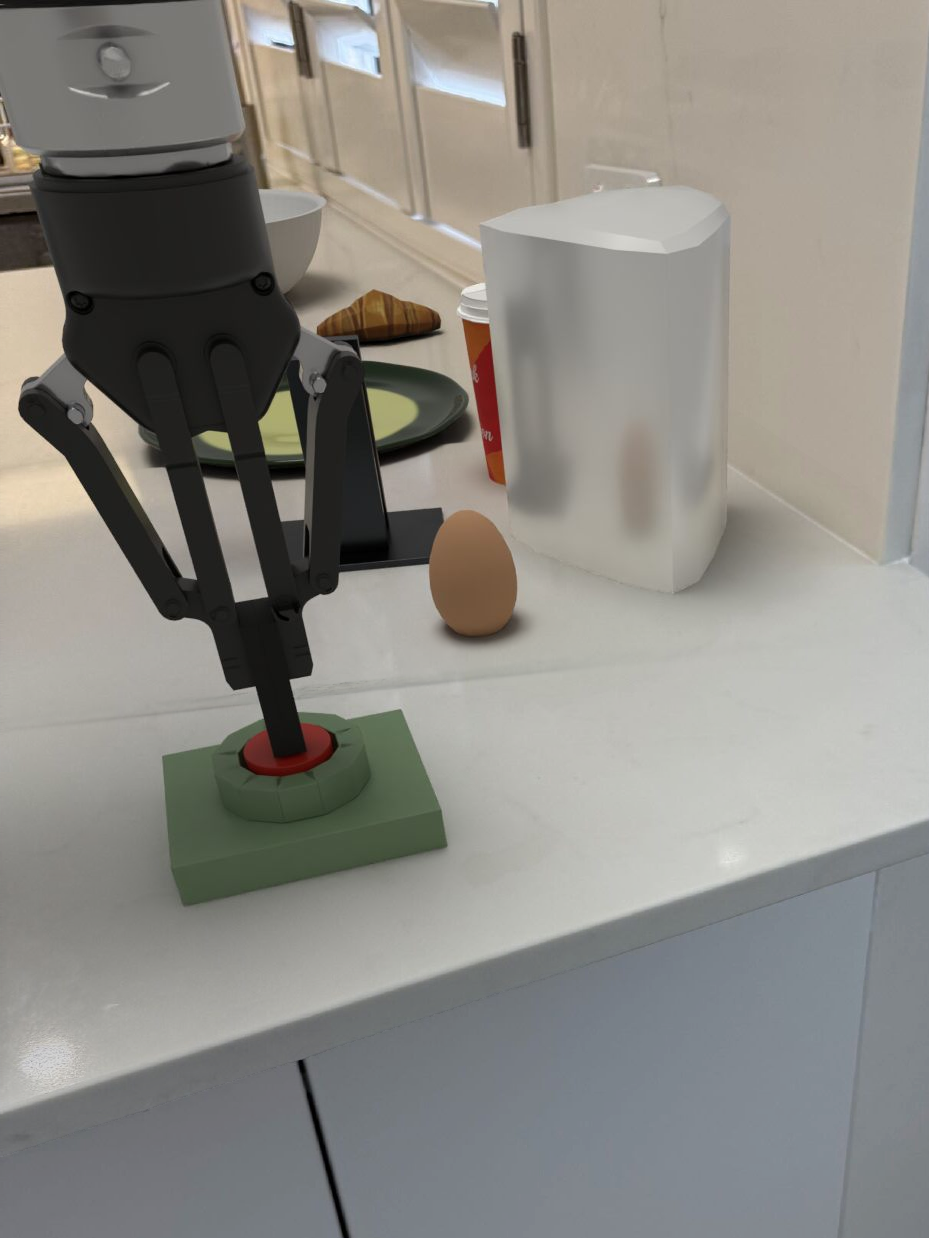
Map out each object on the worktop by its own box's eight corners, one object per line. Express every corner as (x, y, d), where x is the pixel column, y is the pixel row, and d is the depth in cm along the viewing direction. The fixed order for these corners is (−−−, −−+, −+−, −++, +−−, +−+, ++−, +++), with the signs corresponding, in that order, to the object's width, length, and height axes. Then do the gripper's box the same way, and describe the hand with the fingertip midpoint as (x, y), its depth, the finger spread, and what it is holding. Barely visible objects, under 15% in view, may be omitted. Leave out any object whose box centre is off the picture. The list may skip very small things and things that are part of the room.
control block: (183, 907, 54) (158, 835, 51) (173, 791, 61) (151, 723, 59) (447, 847, 57) (435, 776, 54) (407, 744, 64) (395, 677, 62)
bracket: (268, 591, 80) (215, 373, 72) (277, 539, 87) (230, 335, 79) (449, 573, 82) (419, 359, 73) (444, 523, 89) (416, 322, 80)
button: (256, 806, 56) (247, 774, 54) (248, 763, 59) (239, 732, 57) (343, 788, 57) (336, 756, 56) (331, 746, 60) (324, 715, 58)
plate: (213, 387, 117) (206, 360, 116) (496, 385, 116) (493, 358, 114) (89, 491, 96) (79, 460, 94) (436, 491, 94) (432, 459, 92)
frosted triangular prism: (503, 550, 84) (464, 192, 71) (640, 492, 93) (629, 162, 79) (664, 610, 76) (655, 220, 63) (798, 541, 85) (817, 182, 71)
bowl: (95, 340, 133) (65, 239, 127) (122, 286, 154) (97, 197, 148) (346, 320, 137) (329, 221, 131) (339, 270, 158) (324, 183, 152)
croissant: (435, 324, 135) (428, 275, 132) (450, 338, 130) (443, 288, 127) (313, 339, 131) (303, 289, 128) (324, 354, 126) (314, 302, 123)
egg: (503, 611, 77) (489, 488, 72) (536, 643, 73) (523, 516, 68) (426, 630, 75) (406, 505, 70) (456, 664, 71) (437, 535, 66)
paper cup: (510, 461, 99) (491, 274, 90) (592, 473, 96) (581, 282, 87) (457, 493, 93) (431, 297, 85) (542, 507, 91) (525, 306, 82)
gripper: (-80, 186, 37) (143, 813, 52) (344, 154, 41) (441, 751, 55) (-56, 156, 43) (139, 730, 57) (314, 130, 46) (410, 678, 61)
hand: (287, 740), depth 56 cm, fingers closed
